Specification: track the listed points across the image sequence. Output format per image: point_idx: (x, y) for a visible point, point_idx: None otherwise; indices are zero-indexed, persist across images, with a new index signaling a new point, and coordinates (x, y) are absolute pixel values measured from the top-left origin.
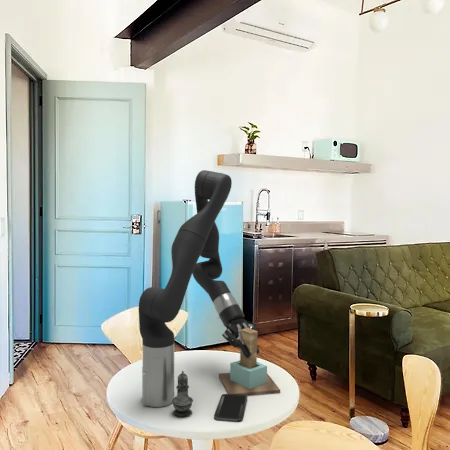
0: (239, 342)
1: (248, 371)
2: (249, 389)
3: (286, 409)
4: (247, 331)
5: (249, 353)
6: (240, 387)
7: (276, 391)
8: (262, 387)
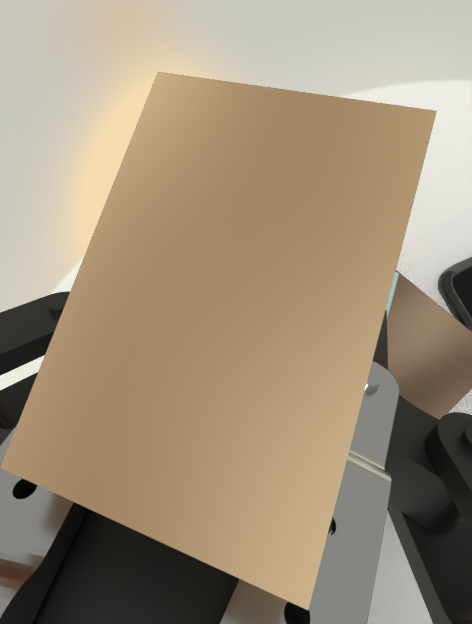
0: (451, 425)
1: (395, 285)
2: None
3: (417, 83)
4: (351, 284)
5: None
6: None
7: None
8: None
